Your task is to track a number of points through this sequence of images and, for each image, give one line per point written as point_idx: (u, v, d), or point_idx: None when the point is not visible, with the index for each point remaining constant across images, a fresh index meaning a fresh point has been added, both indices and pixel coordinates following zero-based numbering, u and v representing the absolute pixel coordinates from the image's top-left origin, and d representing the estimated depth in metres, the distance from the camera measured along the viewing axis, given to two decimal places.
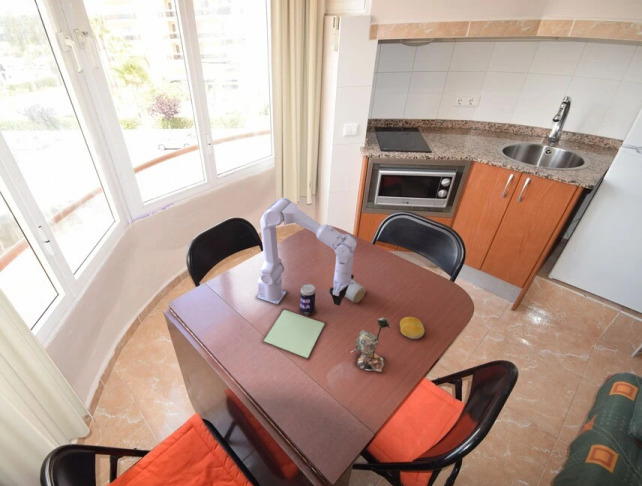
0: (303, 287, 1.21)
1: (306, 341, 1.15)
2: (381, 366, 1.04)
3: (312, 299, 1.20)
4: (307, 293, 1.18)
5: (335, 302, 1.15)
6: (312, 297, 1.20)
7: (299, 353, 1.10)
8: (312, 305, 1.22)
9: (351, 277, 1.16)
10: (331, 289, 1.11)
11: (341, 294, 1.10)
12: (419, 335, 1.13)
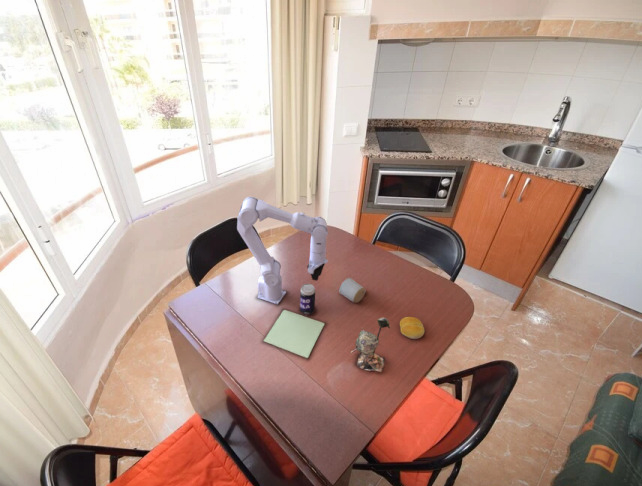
0: (303, 287, 1.21)
1: (306, 341, 1.15)
2: (381, 366, 1.04)
3: (312, 299, 1.20)
4: (307, 293, 1.18)
5: (313, 277, 1.26)
6: (312, 297, 1.20)
7: (299, 353, 1.10)
8: (312, 305, 1.22)
9: None
10: (307, 268, 1.21)
11: (318, 269, 1.21)
12: (419, 335, 1.13)
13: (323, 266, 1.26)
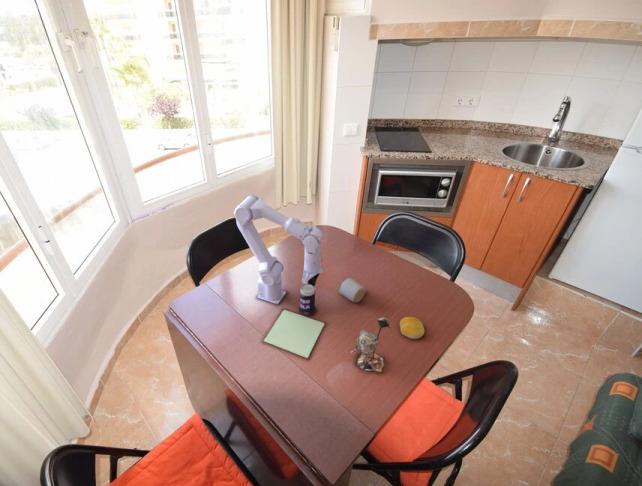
0: (303, 287, 1.20)
1: (306, 341, 1.15)
2: (381, 366, 1.04)
3: (312, 299, 1.20)
4: (307, 294, 1.18)
5: None
6: (312, 297, 1.19)
7: (299, 353, 1.10)
8: (312, 305, 1.22)
9: (318, 273, 1.19)
10: None
11: (314, 277, 1.18)
12: (419, 335, 1.13)
13: None
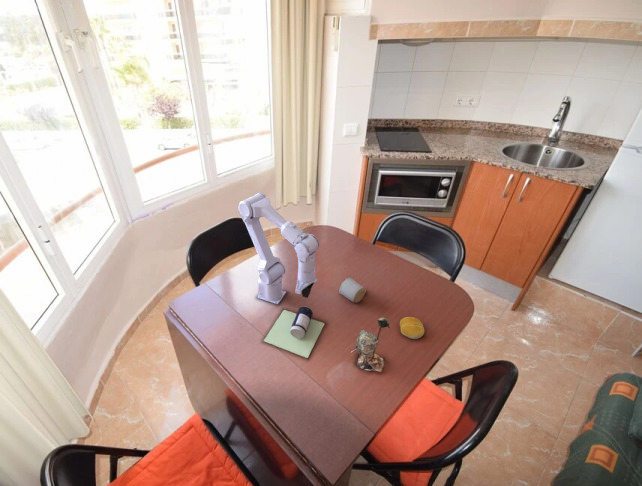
0: (292, 331, 1.14)
1: (306, 341, 1.15)
2: (381, 366, 1.04)
3: None
4: None
5: (303, 294, 1.19)
6: None
7: (299, 353, 1.10)
8: None
9: None
10: None
11: (308, 286, 1.14)
12: (419, 335, 1.13)
13: None
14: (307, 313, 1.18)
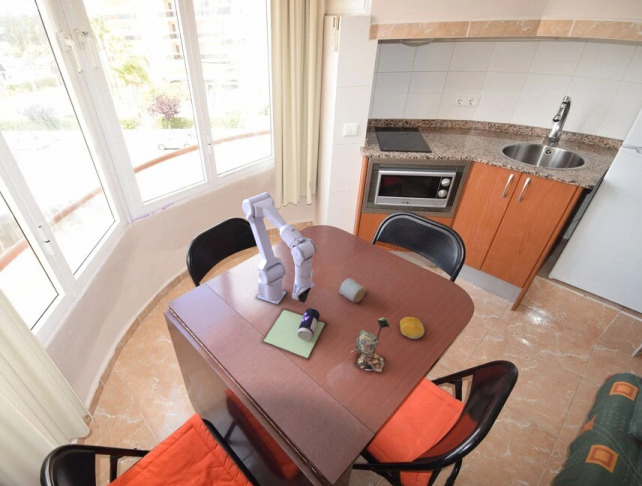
0: (302, 331, 1.12)
1: (306, 341, 1.15)
2: (381, 366, 1.04)
3: None
4: None
5: (300, 299, 1.17)
6: None
7: (299, 353, 1.10)
8: None
9: None
10: None
11: (304, 291, 1.12)
12: (419, 335, 1.13)
13: None
14: (317, 320, 1.18)
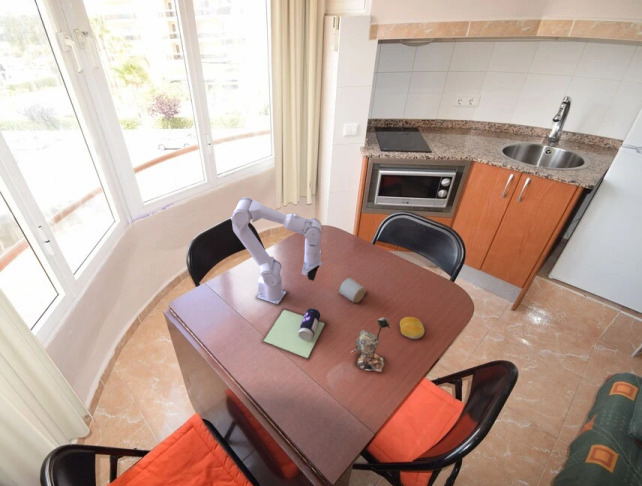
0: (303, 331, 1.12)
1: (306, 341, 1.15)
2: (381, 366, 1.04)
3: None
4: None
5: (309, 277, 1.26)
6: None
7: (299, 353, 1.10)
8: None
9: (318, 265, 1.22)
10: None
11: (313, 269, 1.21)
12: (419, 335, 1.13)
13: None
14: (318, 321, 1.18)
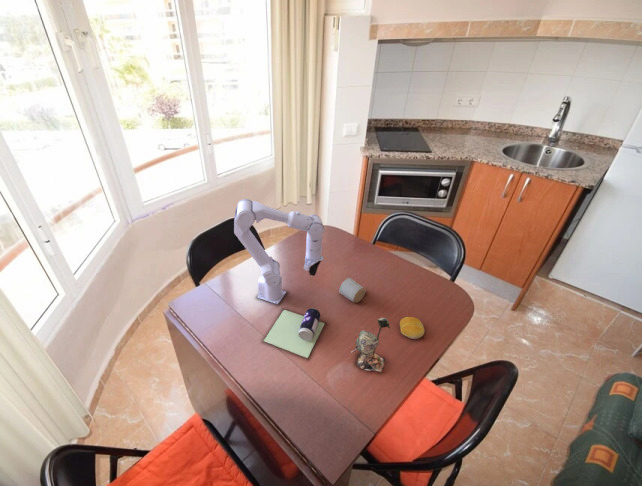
0: (303, 331, 1.12)
1: (306, 341, 1.15)
2: (381, 366, 1.04)
3: None
4: None
5: (310, 272, 1.28)
6: None
7: (299, 353, 1.10)
8: None
9: None
10: None
11: (315, 264, 1.23)
12: (419, 335, 1.13)
13: (318, 265, 1.27)
14: (318, 321, 1.18)
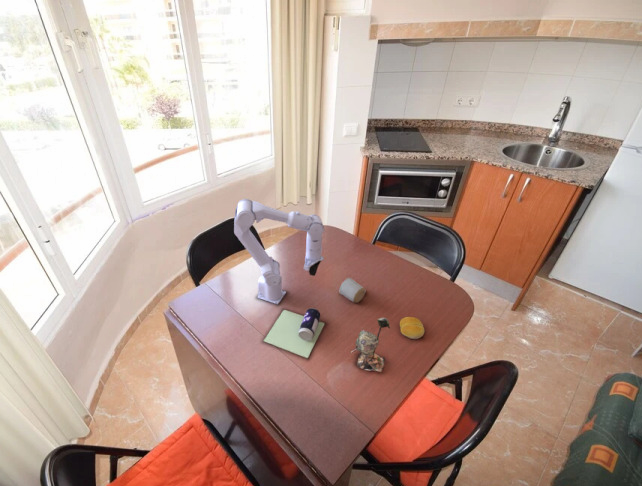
0: (303, 331, 1.12)
1: (306, 341, 1.15)
2: (381, 366, 1.04)
3: None
4: None
5: (310, 272, 1.28)
6: None
7: (299, 353, 1.10)
8: None
9: None
10: None
11: (315, 264, 1.23)
12: (419, 335, 1.13)
13: (318, 265, 1.27)
14: (318, 321, 1.18)
